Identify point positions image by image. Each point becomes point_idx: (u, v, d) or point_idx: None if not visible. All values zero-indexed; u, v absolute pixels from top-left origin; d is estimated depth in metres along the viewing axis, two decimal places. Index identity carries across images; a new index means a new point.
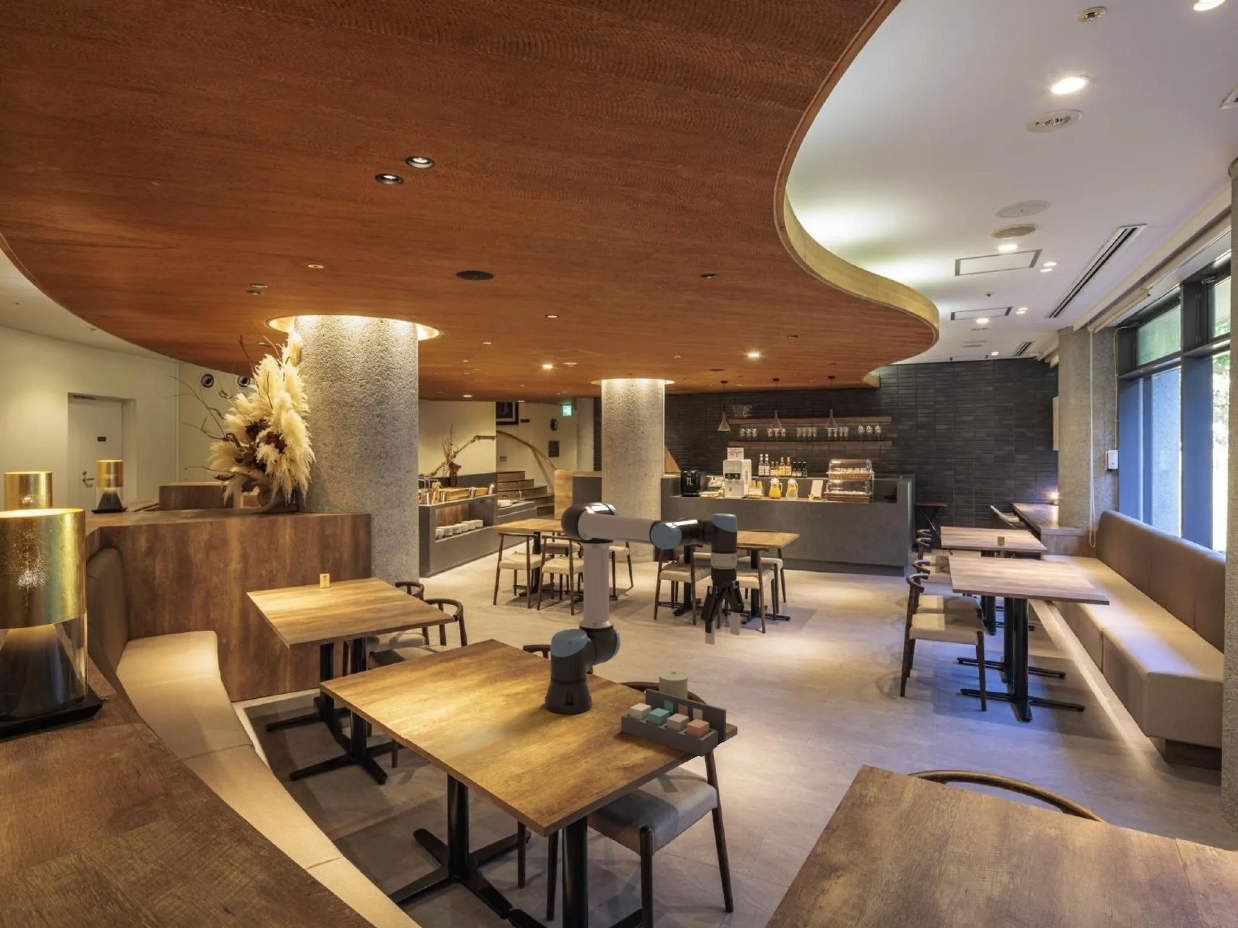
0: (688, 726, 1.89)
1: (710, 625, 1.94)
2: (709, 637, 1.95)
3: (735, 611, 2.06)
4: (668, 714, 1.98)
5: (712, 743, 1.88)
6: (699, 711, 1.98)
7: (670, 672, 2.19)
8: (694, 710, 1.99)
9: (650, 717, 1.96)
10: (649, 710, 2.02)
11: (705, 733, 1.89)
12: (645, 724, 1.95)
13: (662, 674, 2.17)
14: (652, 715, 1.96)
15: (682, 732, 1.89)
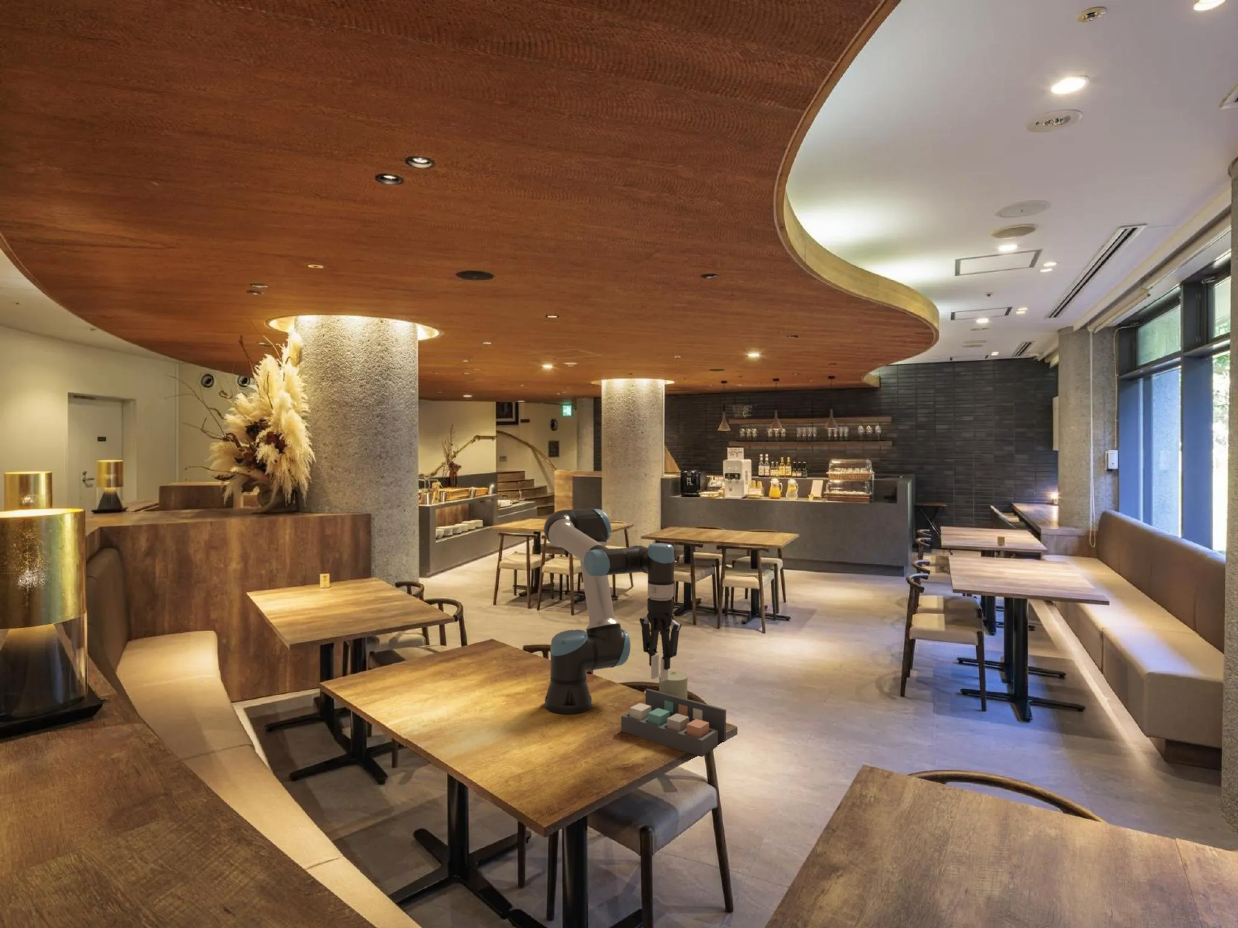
0: (688, 726, 1.89)
1: (651, 658, 1.98)
2: None
3: None
4: (668, 714, 1.98)
5: (712, 743, 1.88)
6: (699, 711, 1.98)
7: (670, 672, 2.19)
8: (694, 710, 1.99)
9: (650, 717, 1.96)
10: (649, 710, 2.02)
11: (705, 733, 1.89)
12: (645, 724, 1.95)
13: None
14: (652, 715, 1.96)
15: (682, 732, 1.89)
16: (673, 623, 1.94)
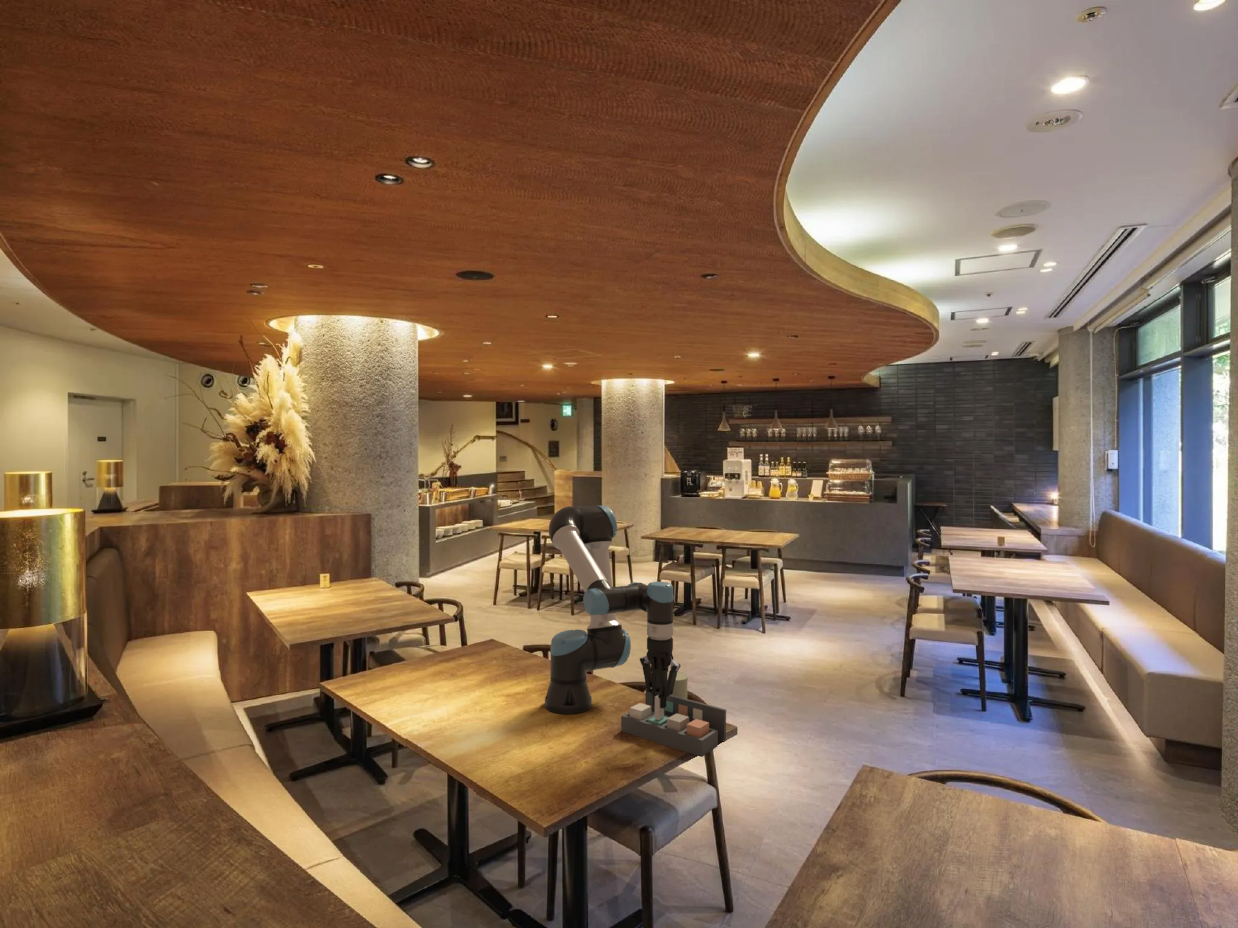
0: (688, 726, 1.89)
1: (654, 698, 1.98)
2: None
3: None
4: None
5: (712, 743, 1.88)
6: (699, 711, 1.98)
7: None
8: (694, 710, 1.99)
9: None
10: (649, 710, 2.02)
11: (705, 733, 1.89)
12: (645, 724, 1.95)
13: None
14: (652, 722, 1.96)
15: (682, 732, 1.89)
16: (672, 663, 1.94)
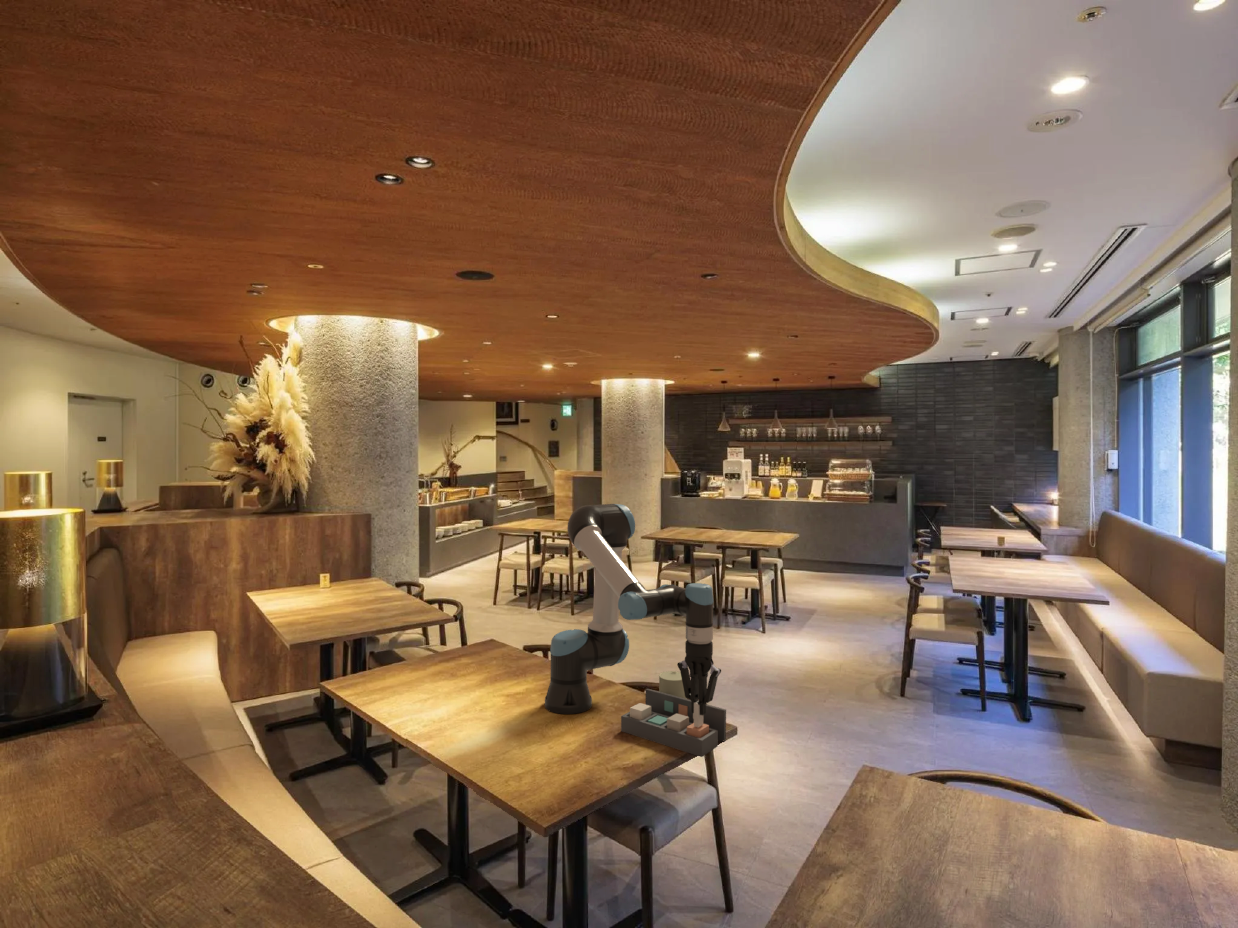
0: (688, 729, 1.89)
1: (693, 705, 1.90)
2: None
3: None
4: None
5: (712, 743, 1.88)
6: None
7: (670, 672, 2.19)
8: None
9: None
10: (649, 710, 2.02)
11: None
12: (645, 724, 1.95)
13: (662, 674, 2.17)
14: (652, 722, 1.96)
15: (682, 732, 1.89)
16: (713, 668, 1.86)
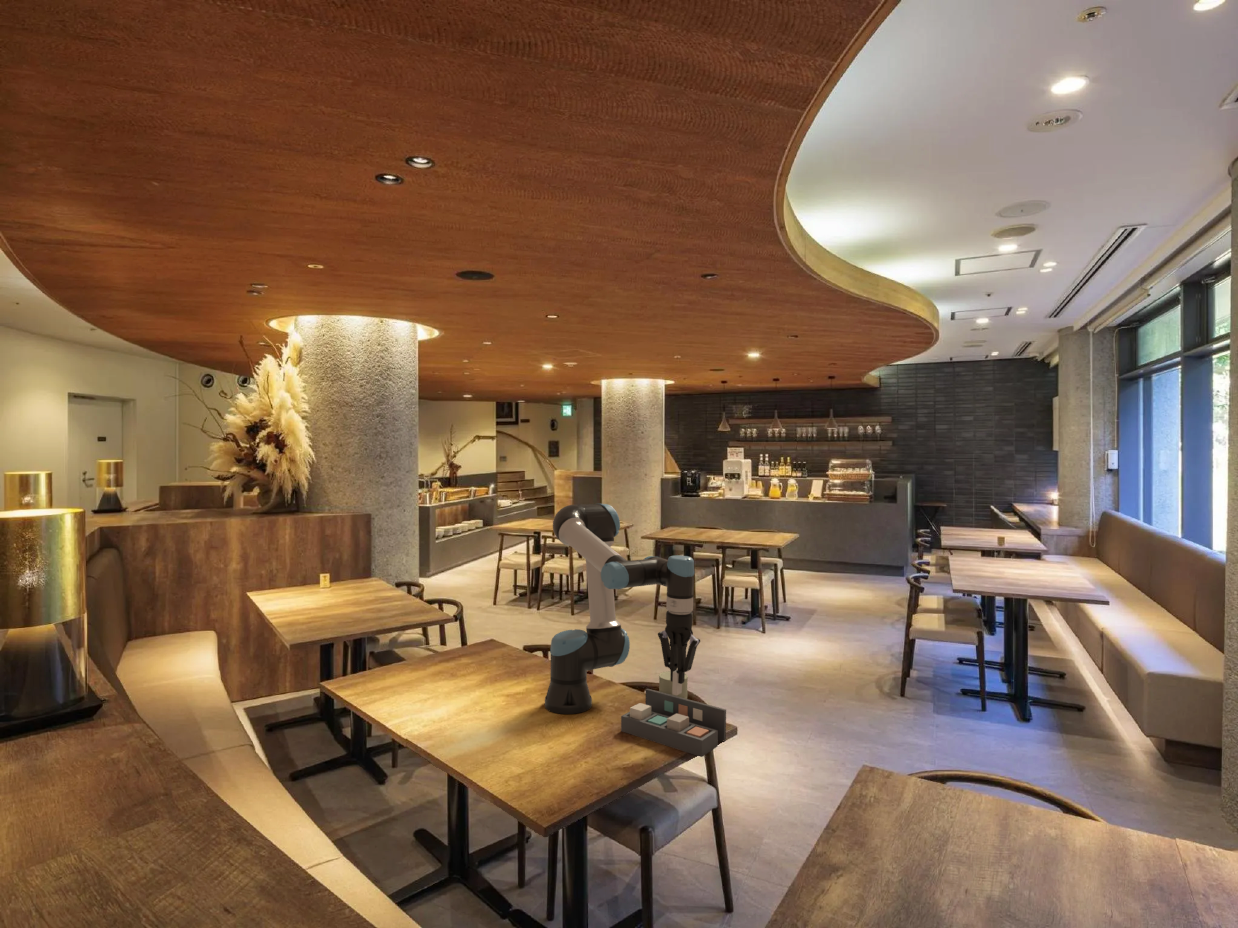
0: (688, 734, 1.89)
1: (672, 673, 1.94)
2: None
3: None
4: None
5: (712, 743, 1.88)
6: (699, 711, 1.98)
7: (670, 672, 2.19)
8: (694, 710, 1.99)
9: None
10: (649, 710, 2.02)
11: None
12: (645, 724, 1.95)
13: (662, 674, 2.17)
14: (652, 722, 1.96)
15: (682, 732, 1.89)
16: (692, 638, 1.90)
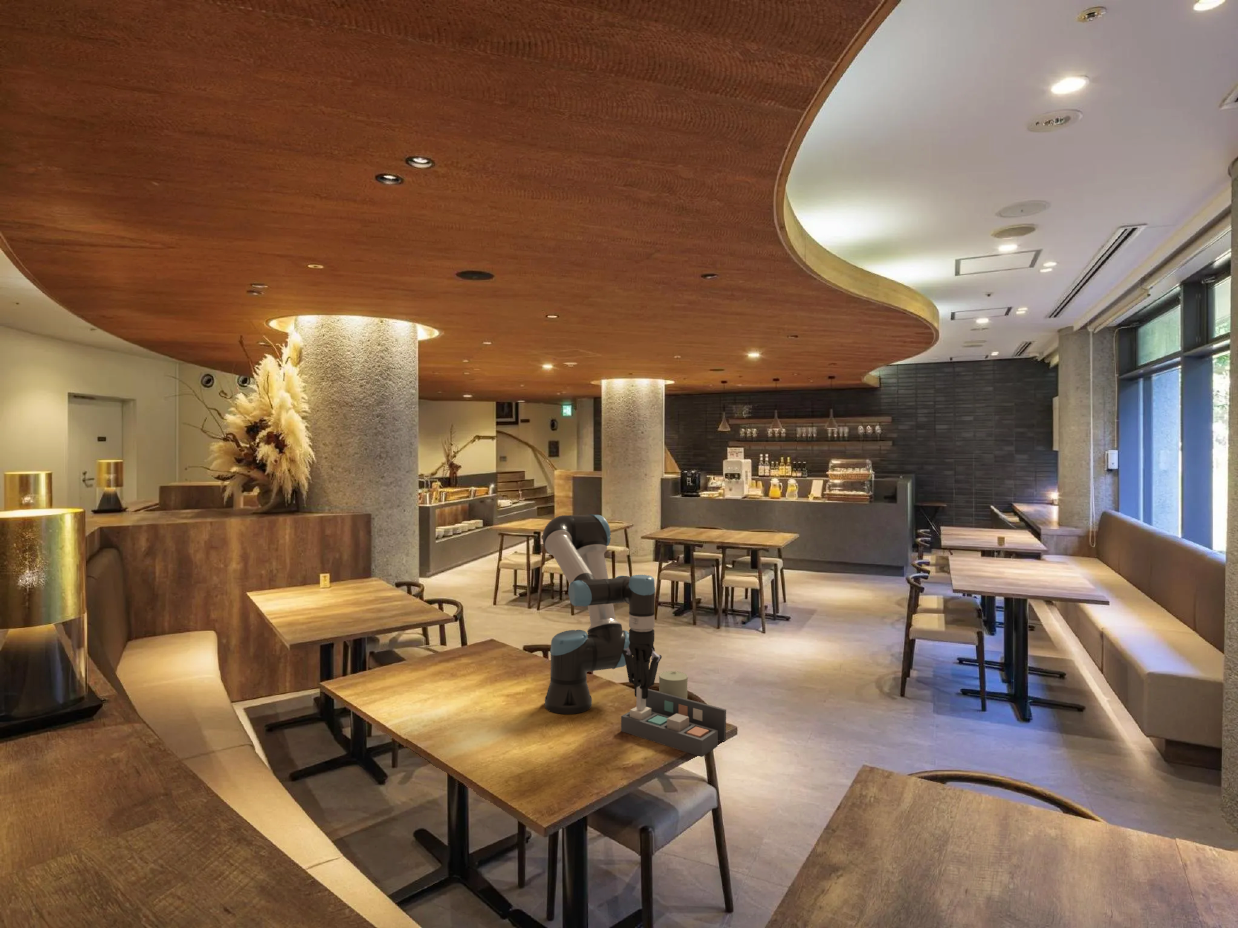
0: (688, 734, 1.89)
1: (636, 689, 2.01)
2: None
3: None
4: None
5: (712, 743, 1.88)
6: (699, 711, 1.98)
7: (670, 672, 2.19)
8: (694, 710, 1.99)
9: None
10: (649, 712, 2.02)
11: None
12: (645, 724, 1.95)
13: (662, 674, 2.17)
14: (652, 722, 1.96)
15: (682, 732, 1.89)
16: (653, 654, 1.98)
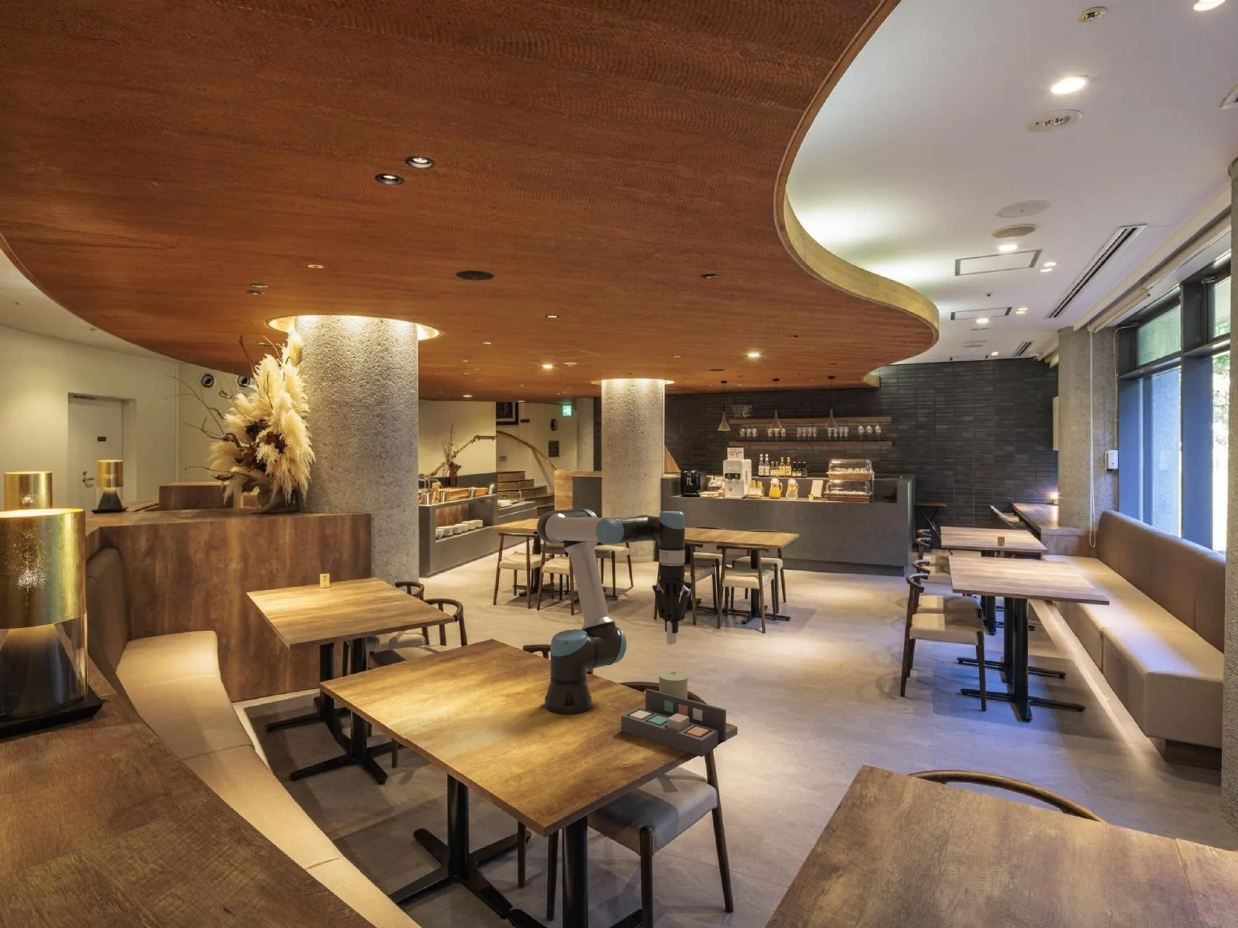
0: (688, 734, 1.89)
1: (666, 624, 2.02)
2: None
3: None
4: None
5: (712, 743, 1.88)
6: (699, 711, 1.98)
7: (670, 672, 2.19)
8: (694, 710, 1.99)
9: None
10: None
11: None
12: (645, 724, 1.95)
13: (662, 674, 2.17)
14: (652, 722, 1.96)
15: (682, 732, 1.89)
16: (684, 588, 1.99)
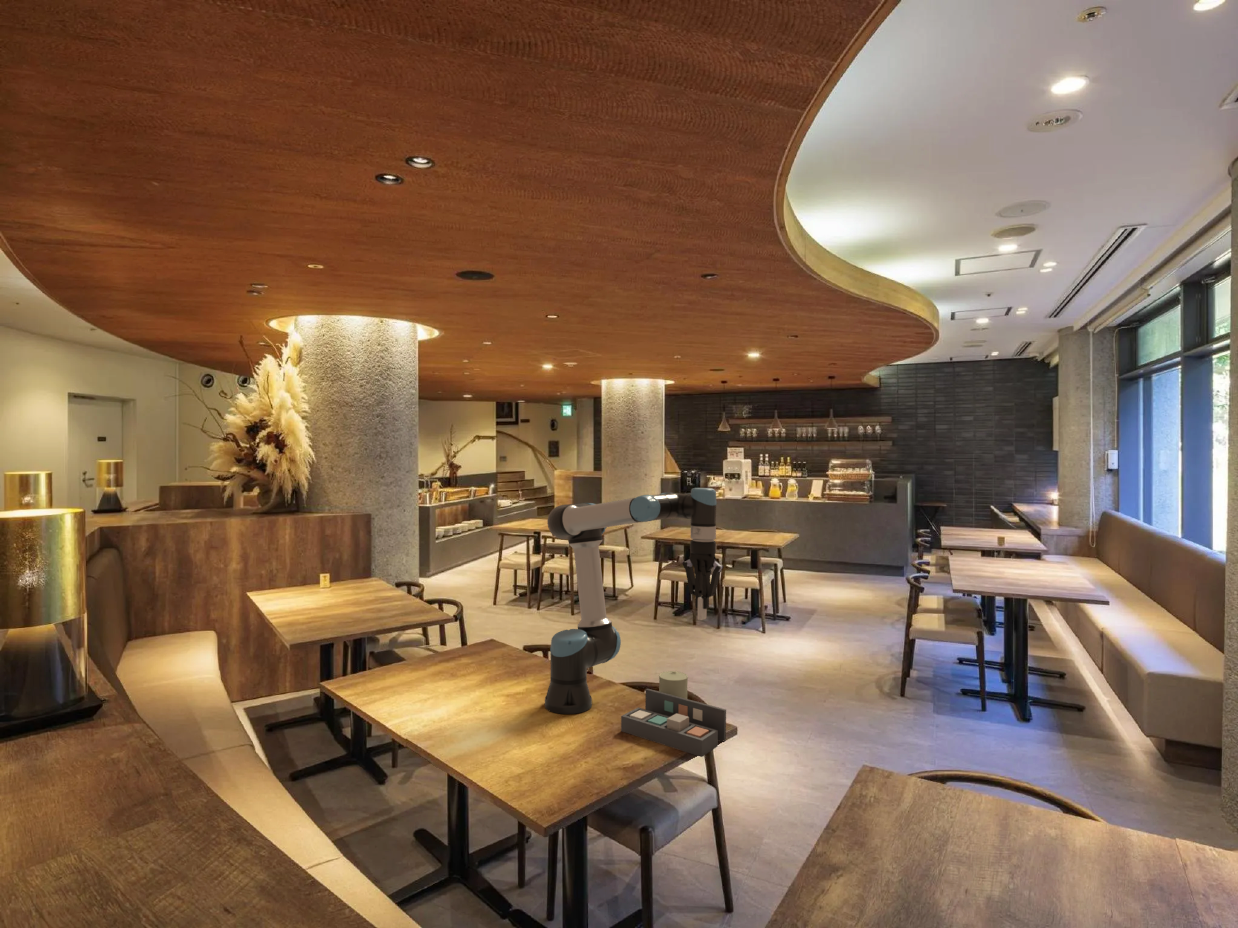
0: (688, 734, 1.89)
1: (697, 600, 2.04)
2: None
3: None
4: None
5: (712, 743, 1.88)
6: (699, 711, 1.98)
7: (670, 672, 2.19)
8: (694, 710, 1.99)
9: None
10: None
11: None
12: (645, 724, 1.95)
13: (662, 674, 2.17)
14: (652, 722, 1.96)
15: (682, 732, 1.89)
16: (715, 564, 2.00)
